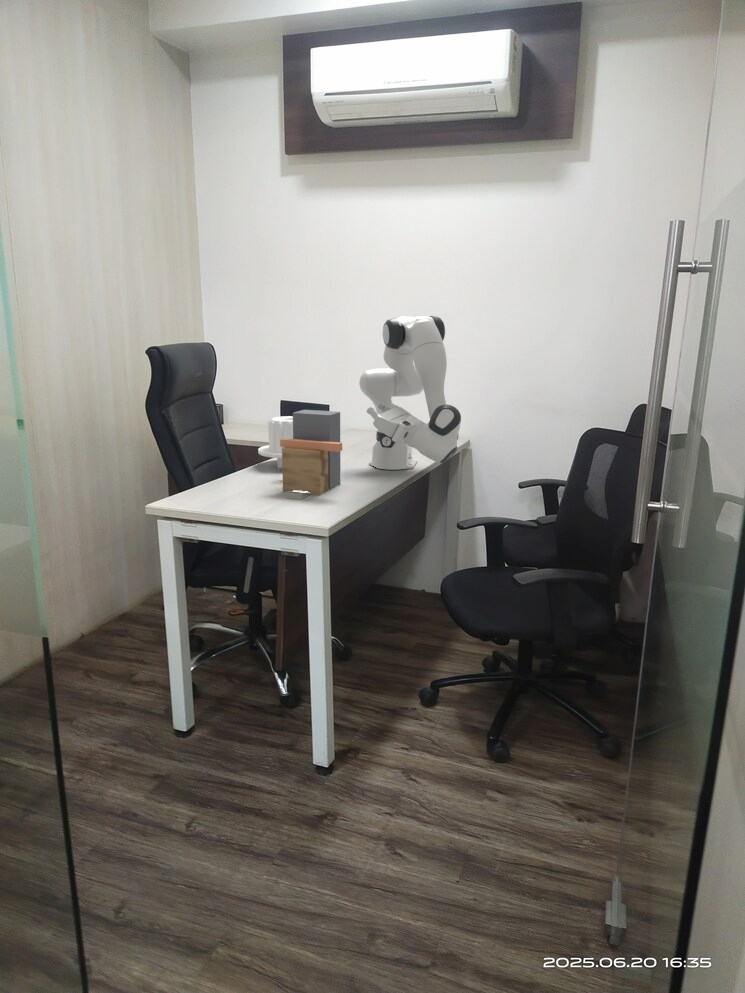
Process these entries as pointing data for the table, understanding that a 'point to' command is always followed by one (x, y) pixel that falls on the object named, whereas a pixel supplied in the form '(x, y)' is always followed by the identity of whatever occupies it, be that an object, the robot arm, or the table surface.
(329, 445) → the bar
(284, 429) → the ribbed cylinder on disc
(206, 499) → the table surface
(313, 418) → the pedestal
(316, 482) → the block
